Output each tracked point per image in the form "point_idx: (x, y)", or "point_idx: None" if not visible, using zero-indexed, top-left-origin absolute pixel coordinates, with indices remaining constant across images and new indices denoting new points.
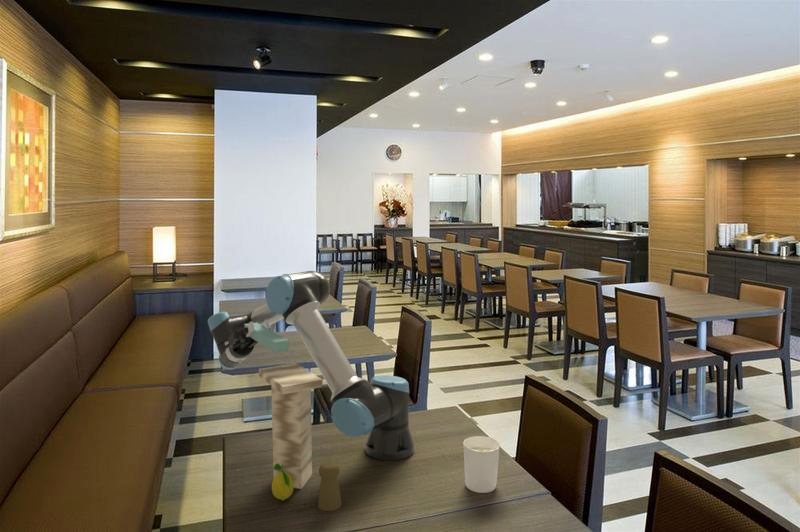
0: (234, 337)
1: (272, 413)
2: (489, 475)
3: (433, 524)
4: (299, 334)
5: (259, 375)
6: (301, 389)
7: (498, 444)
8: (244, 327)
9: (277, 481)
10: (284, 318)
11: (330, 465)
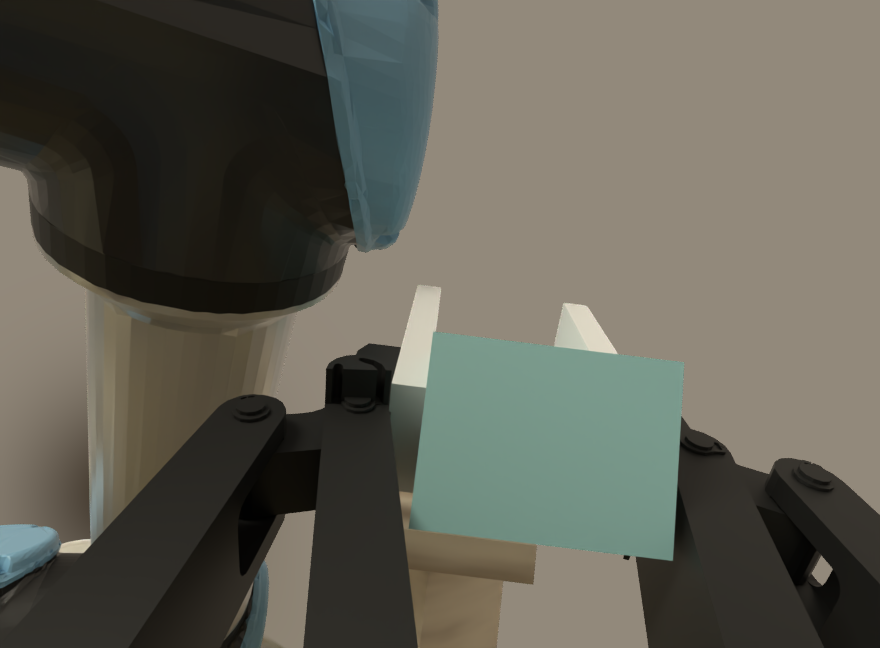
0: (831, 583)
1: (495, 642)
2: None
3: (266, 640)
4: (269, 381)
5: (532, 577)
6: None
7: (77, 542)
8: (678, 431)
9: None
10: (328, 277)
11: None
